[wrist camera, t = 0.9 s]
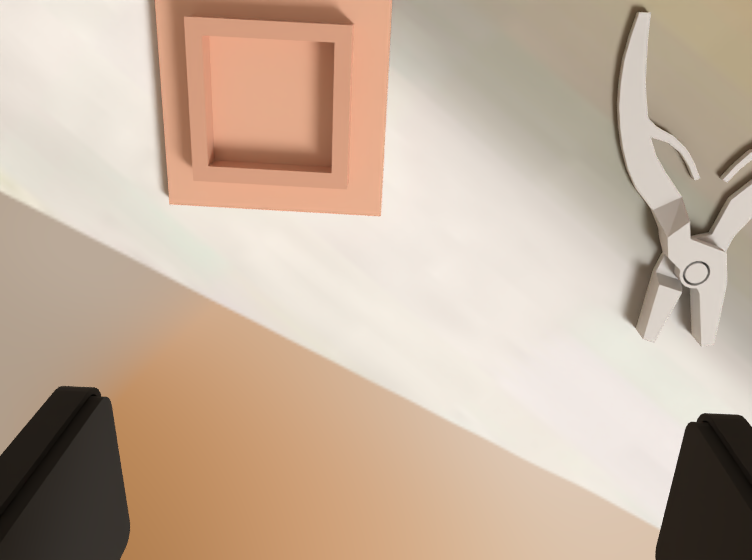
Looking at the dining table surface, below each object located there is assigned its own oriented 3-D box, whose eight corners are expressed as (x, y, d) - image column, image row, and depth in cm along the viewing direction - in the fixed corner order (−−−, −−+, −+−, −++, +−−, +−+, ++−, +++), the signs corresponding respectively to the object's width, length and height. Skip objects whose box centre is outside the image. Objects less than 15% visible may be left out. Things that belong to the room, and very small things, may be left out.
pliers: (883, 27, 28) (778, 351, 34) (860, 25, 30) (763, 336, 36) (640, 12, 28) (577, 338, 34) (628, 11, 30) (570, 324, 36)
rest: (157, -27, 30) (143, -27, 28) (393, -14, 29) (392, -14, 28) (173, 200, 33) (161, 211, 32) (380, 212, 33) (379, 224, 32)
